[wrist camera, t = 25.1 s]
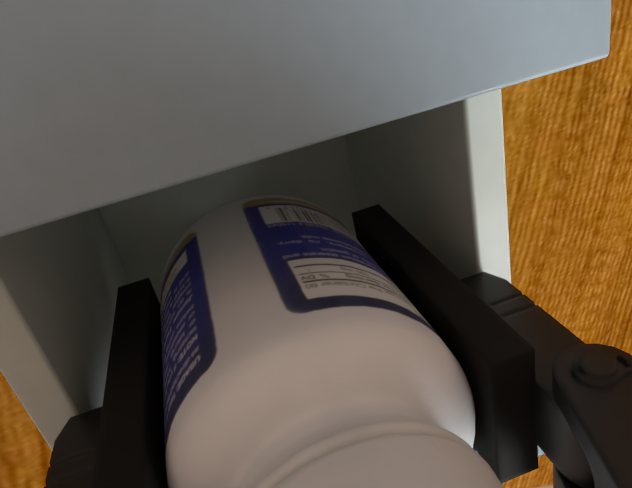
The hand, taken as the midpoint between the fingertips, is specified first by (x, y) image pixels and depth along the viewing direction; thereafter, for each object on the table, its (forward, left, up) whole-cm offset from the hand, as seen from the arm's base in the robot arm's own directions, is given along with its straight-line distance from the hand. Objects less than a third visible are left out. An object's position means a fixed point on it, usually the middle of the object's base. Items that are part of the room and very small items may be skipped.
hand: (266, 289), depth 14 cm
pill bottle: (0, 0, 0) cm, 0 cm away
